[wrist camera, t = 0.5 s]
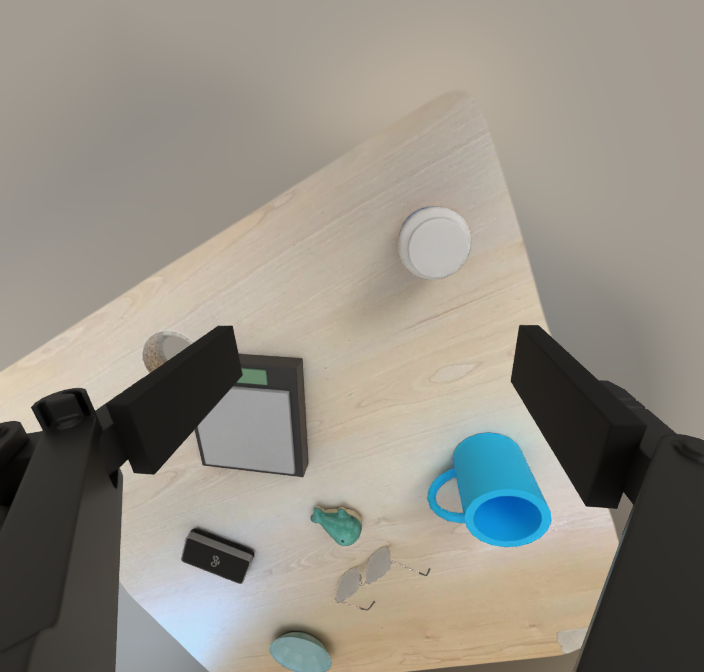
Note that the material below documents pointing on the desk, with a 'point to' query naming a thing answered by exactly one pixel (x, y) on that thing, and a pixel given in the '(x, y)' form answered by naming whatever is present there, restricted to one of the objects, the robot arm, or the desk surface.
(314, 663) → the saucer
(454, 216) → the pill bottle
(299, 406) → the scale
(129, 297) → the desk surface
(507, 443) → the mug
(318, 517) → the whale figurine
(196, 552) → the external hard drive
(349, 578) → the eyeglasses
